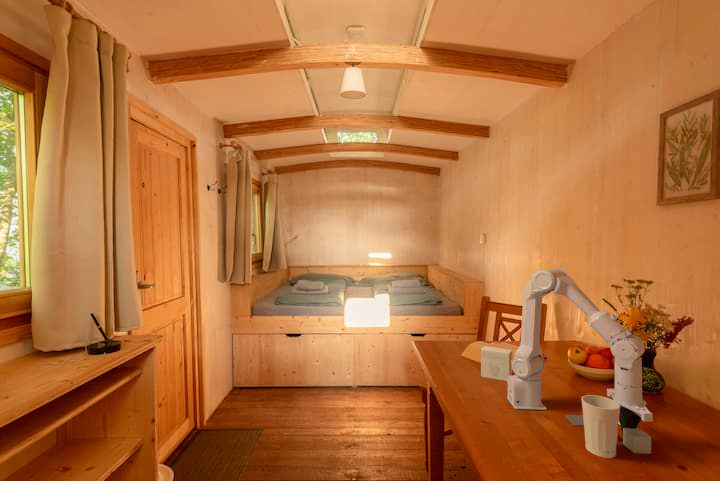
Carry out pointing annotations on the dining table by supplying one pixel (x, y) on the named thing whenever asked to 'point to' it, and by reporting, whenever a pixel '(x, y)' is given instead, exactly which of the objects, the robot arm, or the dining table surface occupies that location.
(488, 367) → the skincare box
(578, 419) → the mat
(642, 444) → the block
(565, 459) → the dining table surface
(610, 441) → the cup
